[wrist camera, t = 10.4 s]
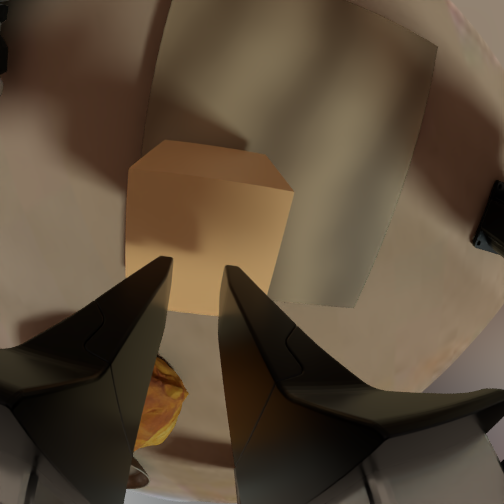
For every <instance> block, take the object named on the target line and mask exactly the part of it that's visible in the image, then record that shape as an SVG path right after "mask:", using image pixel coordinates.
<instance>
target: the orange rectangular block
mask: <svg viewBox="0 0 504 504" xmlns="http://www.w3.org/2000/svg"><path fill="white" fill-rule="evenodd" d="M293 196H294V191H293V189H292V188H291V187H290V185H289V184H288V183H287V181H286V180H285V179H284V178H283V176H282V175H281V174H280V172H279V171H278V170H277V169H276V167H275V166H274V165H273V164H272V162H271V161H270V160H269V158H268V157H267V156H266V155H265V154H260V153H255V152H249V151H243V150H237V149H231V148H225V147H218V146H211V145H204V144H197V143H189V142H181V141H173V140H164V141H162V142H161V143H160V144H159V145H157V146H156V147H155V148H153V149H152V150H151V151H150V152H148V153H147V154H146V155H144V156H143V157H142V158H141V159H139V160H138V161H137V162H136V163H135V164H133V165H132V166H131V167H130V168H129V171H128V186H127V204H126V238H125V265H126V278H127V277H129V276H130V275H132V274H133V273H135V272H136V271H138V270H139V269H141V268H142V267H144V266H145V265H147V264H148V263H150V262H151V261H153V260H154V259H156V258H157V257H159V256H168V257H172V258H173V272H172V283H171V290H170V296H169V303H168V309H167V310H169V311H177V312H185V313H194V314H202V315H211V316H219V296H220V287H221V282H222V276H223V271H224V267H225V265H233V266H238V267H240V268H241V269H242V270H243V271H244V272H245V273H246V274H247V275H248V276H249V277H250V279H251V280H252V281H253V282H254V283H255V284H256V285H257V286H258V287H259V288H260V289H261V290H262V291H263V292H264V293H265V294H266V295H267V294H268V290H269V286H270V283H271V279H272V276H273V272H274V268H275V265H276V261H277V257H278V253H279V250H280V246H281V242H282V238H283V235H284V231H285V227H286V223H287V219H288V216H289V212H290V208H291V204H292V200H293Z"/></svg>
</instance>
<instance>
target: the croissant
mask: <svg viewBox="0 0 504 504" xmlns="http://www.w3.org/2000/svg"><path fill="white" fill-rule="evenodd" d="M188 394H189V393H188V392H187V391H186V389H185V387H184V385H183V382H182V380H181V379H180V378H179V376H178V375H177V374H176V372H175V371H174V370H173V369H171V368H170V367H169V366H168V365H167V364H166V363H165V362H164V361H163V360H162V359H160V358H158V357H156V361H155V365H154V369H153V372H152V376H151V380H150V384H149V388H148V392H147V396H146V400H145V404H144V408H143V412H142V416H141V421H140V425H139V429H138V434H137V438H136V443H135V447H134V451H136V450H137V449H139V448H143V447H146V446H151V445H159V444H161V443H162V442H163V441H164V440H165V439H166V438H167V437H168V435H169V434H170V433H171V431H172V430H173V428H174V426H175V424H176V421H177V418H178V415H179V414H180V411H181V407H182V402H183V401H184V400H185V398H186V397H187V395H188Z"/></svg>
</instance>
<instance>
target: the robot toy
mask: <svg viewBox="0 0 504 504" xmlns="http://www.w3.org/2000/svg"><path fill="white" fill-rule="evenodd" d="M4 1H9V0H0V2H4ZM8 7H9V6H7V5H2V4H0V29H1V23H3V22H4V21H5V20H7V14H8ZM7 56H8V47H7V45H6V43H5V41H4V39H3V38H2V36H1V35H0V74H3V73H5V72H7ZM2 91H3V82H2V80H1V77H0V96H1V94H2Z"/></svg>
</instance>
